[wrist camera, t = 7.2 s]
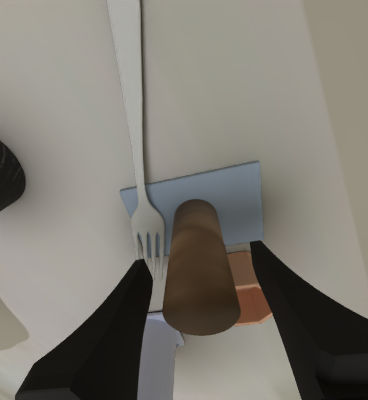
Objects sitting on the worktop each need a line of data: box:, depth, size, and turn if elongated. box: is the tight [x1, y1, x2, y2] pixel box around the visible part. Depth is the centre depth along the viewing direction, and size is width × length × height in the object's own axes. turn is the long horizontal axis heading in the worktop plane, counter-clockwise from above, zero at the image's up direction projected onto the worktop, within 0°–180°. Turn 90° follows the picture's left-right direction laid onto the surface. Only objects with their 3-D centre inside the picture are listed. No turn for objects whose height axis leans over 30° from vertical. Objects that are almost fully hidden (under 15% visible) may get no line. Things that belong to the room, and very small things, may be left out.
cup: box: [227, 251, 273, 326], centre depth 20 cm, size 6×6×4 cm
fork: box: [107, 0, 165, 280], centre depth 14 cm, size 3×24×2 cm, turn 0°
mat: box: [119, 161, 264, 258], centre depth 18 cm, size 12×8×1 cm, turn 103°
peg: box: [162, 199, 241, 336], centre depth 14 cm, size 4×4×9 cm
